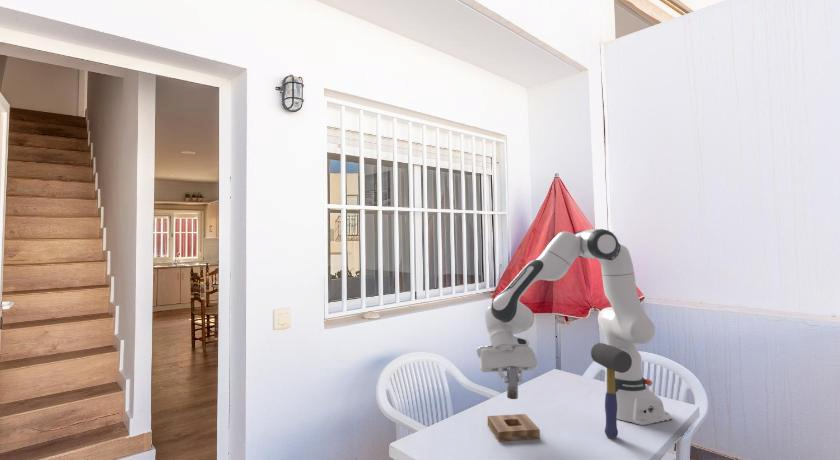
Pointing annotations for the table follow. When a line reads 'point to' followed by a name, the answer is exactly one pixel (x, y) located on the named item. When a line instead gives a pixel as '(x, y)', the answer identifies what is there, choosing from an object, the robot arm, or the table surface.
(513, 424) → the hole plate
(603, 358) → the rubber mallet
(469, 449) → the table surface
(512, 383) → the pin
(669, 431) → the table surface
